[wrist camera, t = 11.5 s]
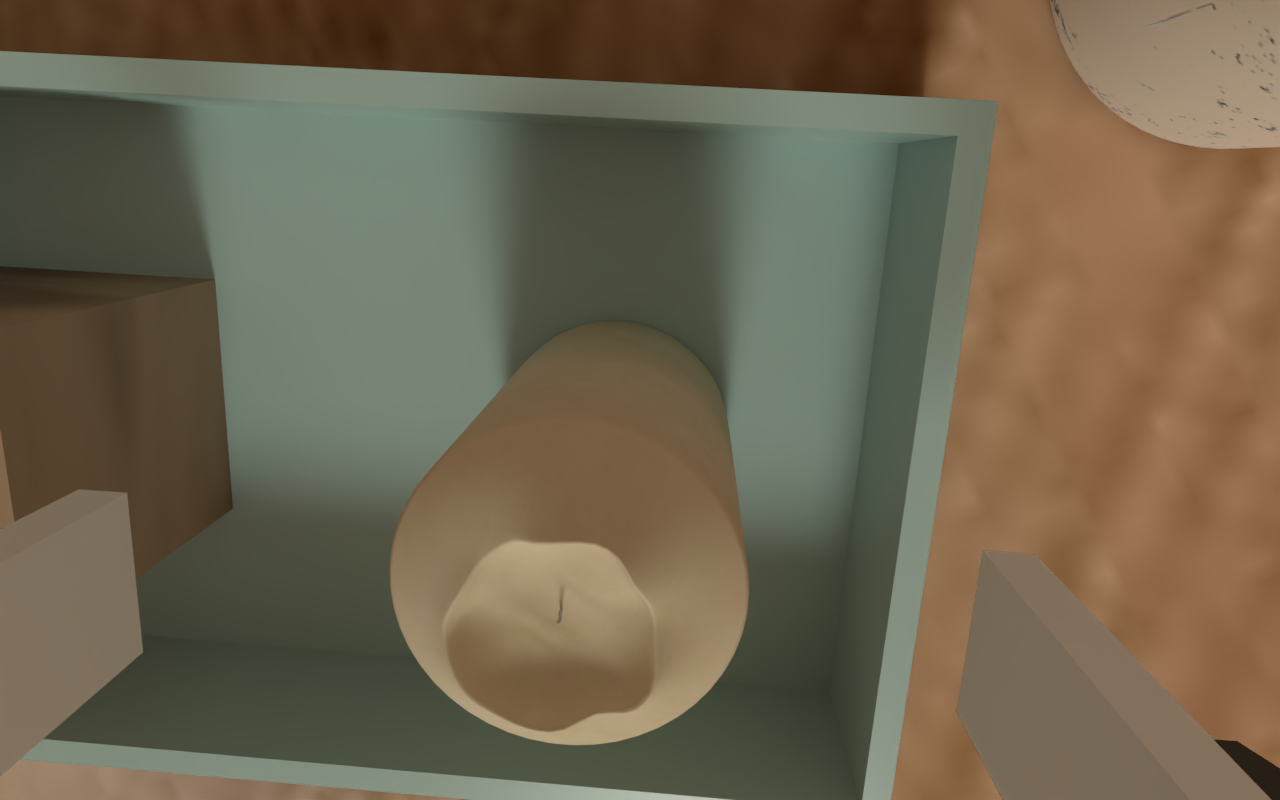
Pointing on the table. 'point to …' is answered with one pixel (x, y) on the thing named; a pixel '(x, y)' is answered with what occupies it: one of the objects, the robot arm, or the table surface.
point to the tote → (485, 361)
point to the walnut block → (114, 400)
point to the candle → (580, 543)
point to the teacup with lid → (1181, 66)
